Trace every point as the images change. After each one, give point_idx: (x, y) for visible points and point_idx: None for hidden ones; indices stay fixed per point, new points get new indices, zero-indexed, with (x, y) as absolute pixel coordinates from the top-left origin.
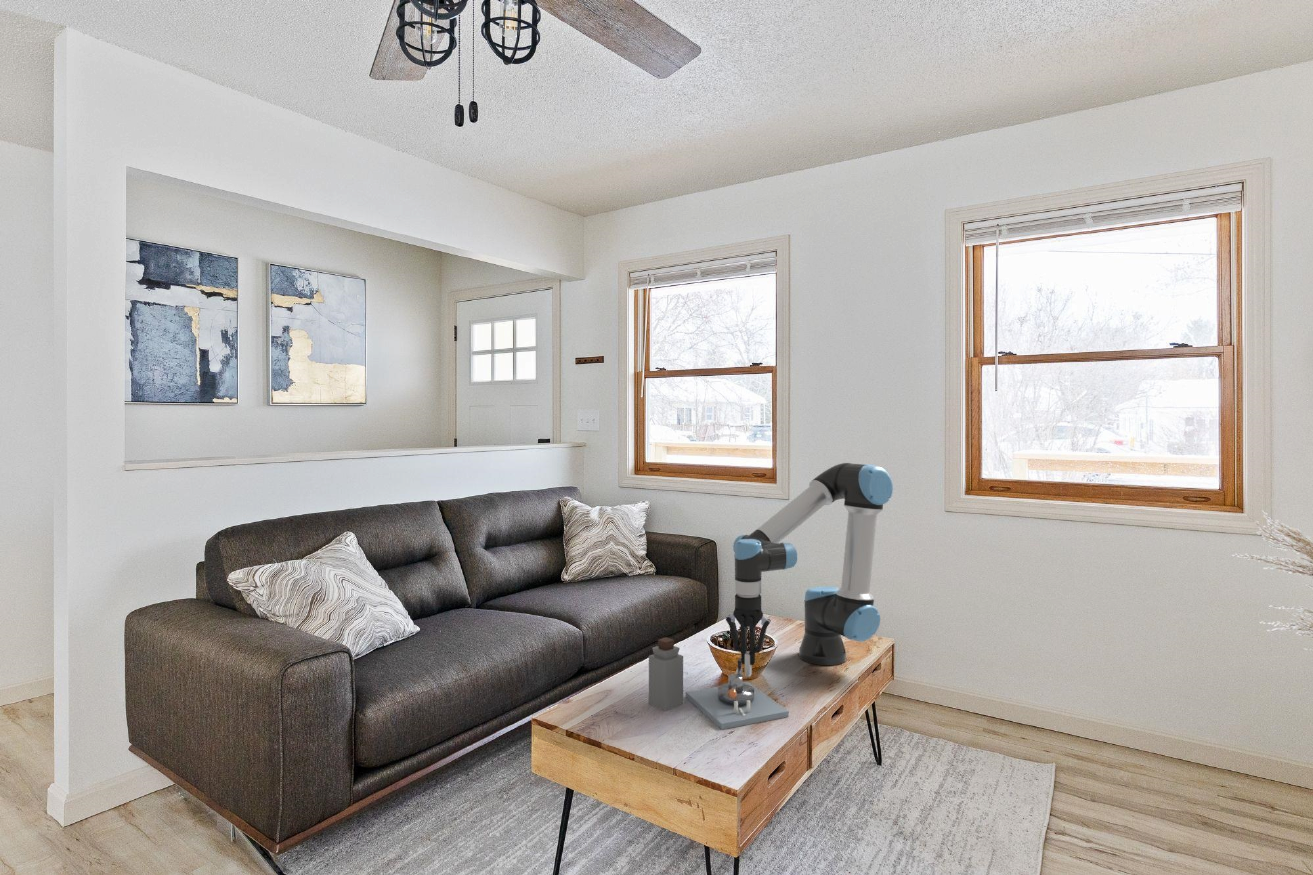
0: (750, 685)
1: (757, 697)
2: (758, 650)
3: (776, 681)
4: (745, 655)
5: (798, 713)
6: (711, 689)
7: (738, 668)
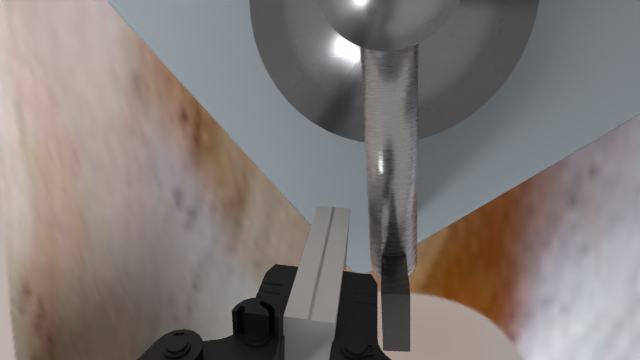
0: None
1: (265, 85)
2: (164, 349)
3: None
4: (328, 312)
5: (43, 4)
6: (565, 128)
7: (398, 245)
